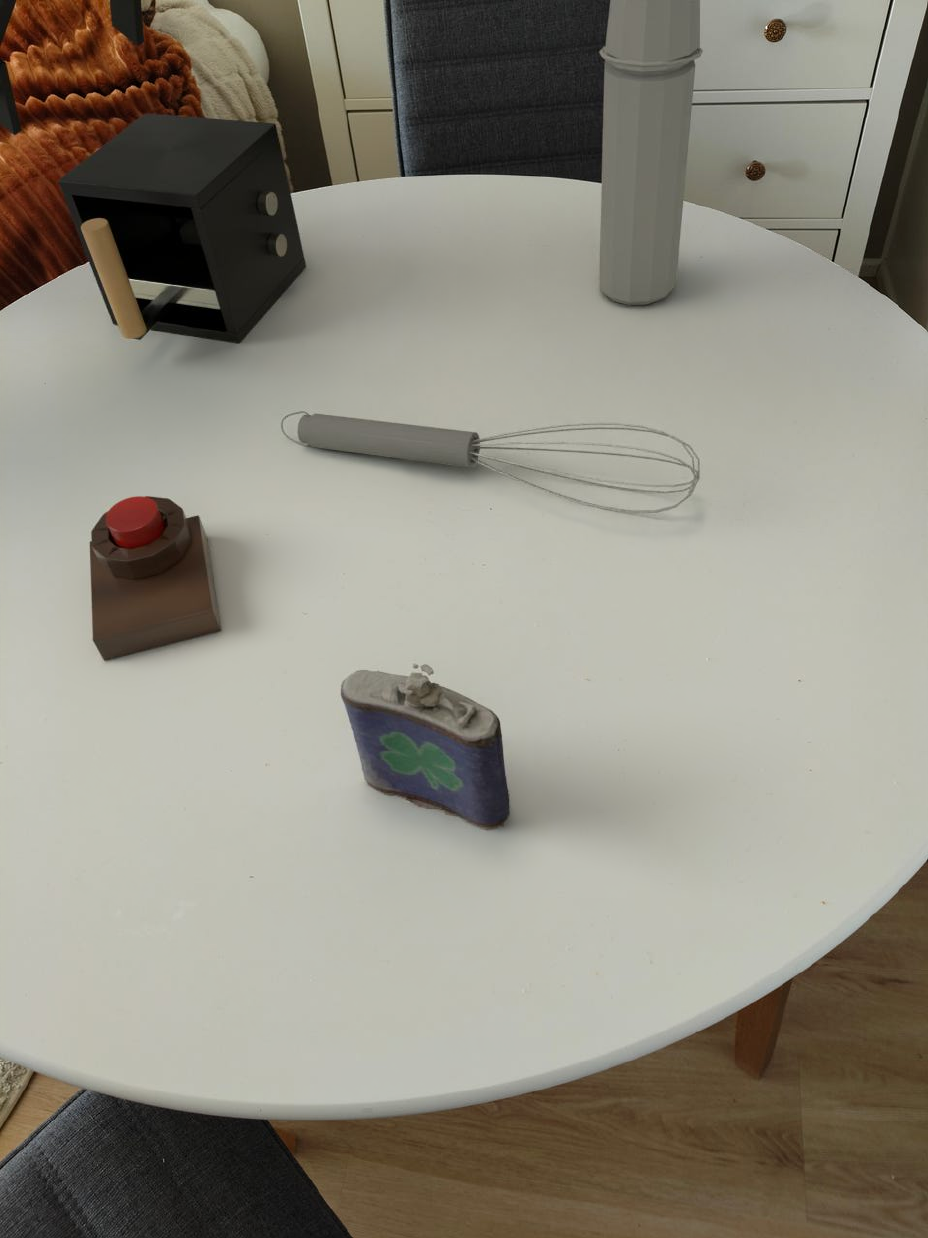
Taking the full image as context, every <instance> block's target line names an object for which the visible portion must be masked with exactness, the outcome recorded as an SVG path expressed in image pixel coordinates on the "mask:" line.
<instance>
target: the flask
mask: <svg viewBox="0 0 928 1238" xmlns="http://www.w3.org/2000/svg"><path fill="white" fill-rule="evenodd" d="M412 668H413V669H419V665H418V664H413V665H412ZM420 670H421V672H411V673H410V674H409V676H407V675H402V674H394V673H389V672H384V671H379V670H368V669H361V670H360V669H359V670H355V671H354V672H353V673H351V674H349V675H348V676H347V677H346V678H345V679H343V680H342V682H341V684H340V697H341V700H342V702H343V705H344V707H345V710H346V714H347V717H348V720H349V724H350V728H351V730H352V734H353V739H354V742H355V745H356V749H357V753H358V757H359V760H360V761H359V762H360V765H361V770H362V773H363V774H362V775H363V777H364V780H365V782H366V783H367V785H369V786H370V787H372V788H373V789H374V790H375V791H377V792H380V793H382V794H383V795H387V796H390V797H391V795H395V796H398V797H400V798H401V799H402V798H403V799H406V801H409V802H410V803H411V804H414V805H417V808H421V807H422V808H424V809H440V810H442V811H444V814H445V816H448V815H449V816H451V815H452V816H456V817H459V818H460V819H461V820H463V823H469V824H472V825H473V826H476V827H478V828H480V829H482V830H492V829H496V828H499V827H505V822H506V821H507V820H508V818H509V816H510V809H511V807H510V791H509V785H508V781H507V774H506V766H505V765H506V764H505V757H504V756H505V755H504V743H503V734H502V727H501V721H500V719H499V716H498V715H497V714H496V713H495V712H494V711H493V710H492V709H490V708H488V707H486V706H485V705H482V704H481V703H478V702H476V701H475V700H473V699H471V698H469V697H468V696H466V695H463V694H462V693H459V692H458V691H455V690H453V689H450V688H447V687H445V686H442V685H440V684H439V683H436V682H431V681H430V679H429V677H428V676H431V675H434V673H435V672H434V669H433V668H432V667H431V666H430V665H429V664H425V663H424V664H421V665H420ZM422 672H424V673H426V674H427V675H428V676H427V675H425V674H424V675H423V673H422Z"/></svg>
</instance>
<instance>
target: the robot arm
mask: <svg viewBox="0 0 928 1238" xmlns="http://www.w3.org/2000/svg"><path fill="white" fill-rule="evenodd" d="M17 1H18V0H0V48H1V47H2V43H3V40H4V38H5V35H6V33H7V29H8V27H9V24H10V20H11V18H12V15H13V12H14V9H15V6H16V3H17ZM108 1H109V9H110V10H109V11H110V18H111V27H113V28H114V29H116V30H117V31H118V32H119V33H121V34H122V35H123V36H124V37H125V38H127V39H128V40H129V41H131V42H132V43H133V44H134V45H136V46H137V47H139V46H140V45H142V44H143V43H144V42H145V35H144V21H143V7H142V0H108ZM0 125H1V127H3V128H5V129H6V130H7V131H8V132H9V133H11V134H12V135H13V136H16V135H18V134H19V133H20V132H22V131H23V129H22V125H21V121H20V116H19V111H18V108H17V104H16V100H15V95H14V91H13V87H12V82H11V79H10V73H9V70H8V66H7V62H6V61H5V60H4V59H2V58H1V57H0Z"/></svg>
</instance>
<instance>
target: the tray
mask: <svg viewBox="0 0 928 1238" xmlns="http://www.w3.org/2000/svg"><path fill="white" fill-rule="evenodd" d="M175 219H176V222H177V226H178V229H179V231H178V232H177V233H176V234H175V235H174V236H172V237H171V238H170V239H169V240H168V241H167V242H166V243H165V244H164V245H163V246H162V247H161V248H160V249H159V250H157V251H156V252H155V253H154V254H153V255H152V256H151V257H150V258H149V259H148V260H147V261H146V262H145V263H144V264H143V265H141V266H140V267H139V268H138V269H137V270H136V271H135V272H134V273H133V274H132V275H131V276H127V273H126V270H125V268H124V265H123V262H122V259H121V257H120V254H119V251H118V248H117V246H116V243H115V240H114V237H113V235H112V232H111V229H110V226H109V223H108V221H107V220H106V219H103V218H96V219H91V220H88V221H86V222H84V223H83V224H82V225H81V230H82V233H83V235H84V238H85V240H86V243H87V246H88V248H89V251H90V253H91V256H92V259H93V261H94V264H95V266H96V269H97V272H98V274H99V277H100V279H101V282H102V285H103V287H104V290H105V292H106V295H107V298H108V300H109V303H110V305H111V308H112V310H113V313H114V316H115V318H116V321H117V323H118V325H117V326H118V329H119V331H120V334H121V336H122V337H123V338H124V339H127V340H137V341H141V340H143V338H144V337H145V336H146V335H147V334H148V333H149V332H150V331H152V330H151V329H152V328H153V327H154V326H155V325H156V324H157V323H158V322H159V321H160V320H161V318H162V317H163V316H164V315H165V314H166V313H167V312H168V311H169V310H170V309H171V308H172V307H173V306H174V305H175V303H178V304H185V305H192V306H199V307H206V308H213V309H221V308H220V305H219V302H218V298H217V295H216V291H215V288H214V285H213V281H212V278H211V274H210V271H209V268H208V264H207V261H206V257H205V254H204V251H203V247H202V244H201V240H200V237H199V234H198V230H197V227H196V223H195V220H194V217H189V216H180V215H178V216H177V217H176V218H175ZM136 298H142V299H149V300H153V301H152V302H151V303H150V304H149V305H148V306H147V307H146V308H145V309H144V310H143V311H142V312H140V309H139V306H138V303H137V301H136Z"/></svg>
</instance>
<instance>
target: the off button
mask: <svg viewBox="0 0 928 1238" xmlns="http://www.w3.org/2000/svg"><path fill="white" fill-rule="evenodd" d="M107 512H108V513H107V515H106V524H107V526H108V528H109V530H110V532H111V534H112V536H113V539H114V541H115V542H116V544H117V545H119V546H120V547H122V548H127V549H134V548H138V547H142V546H146V545H149V544H150V543H152V542H153V541H155V540H157V539H158V538H160V537H161V536H162V534H163V532H164V529H165V523H164V521H163V518H162V516H161V514H160V511H159V509H158V506H157V504H156V503H155V502H154V501H153V500H152V499H150V498H147V497H145V496H143V495H139V496H138V495H137V496H130V497H127V498H124V499H122V500H120V501H118V502H116V503H115V504H113V506H111V507H110V508H109V510H107Z"/></svg>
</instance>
